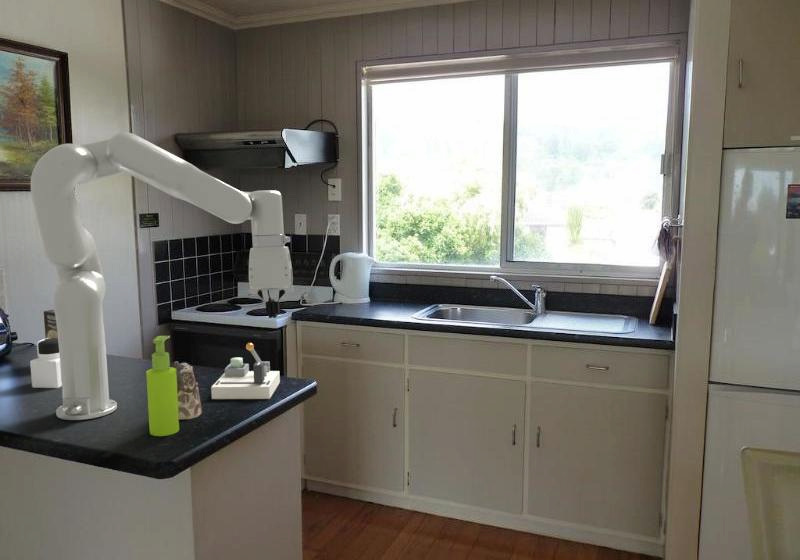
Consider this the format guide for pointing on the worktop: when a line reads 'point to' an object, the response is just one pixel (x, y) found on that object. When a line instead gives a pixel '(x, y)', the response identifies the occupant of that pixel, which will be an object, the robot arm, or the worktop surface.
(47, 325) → the coffee box
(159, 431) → the soap dispenser
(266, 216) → the robot arm
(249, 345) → the toggle lever
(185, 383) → the figurine
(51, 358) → the medicine bottle
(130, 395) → the worktop surface
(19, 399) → the worktop surface
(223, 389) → the panel
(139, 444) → the worktop surface
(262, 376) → the slider knob
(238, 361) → the push button
